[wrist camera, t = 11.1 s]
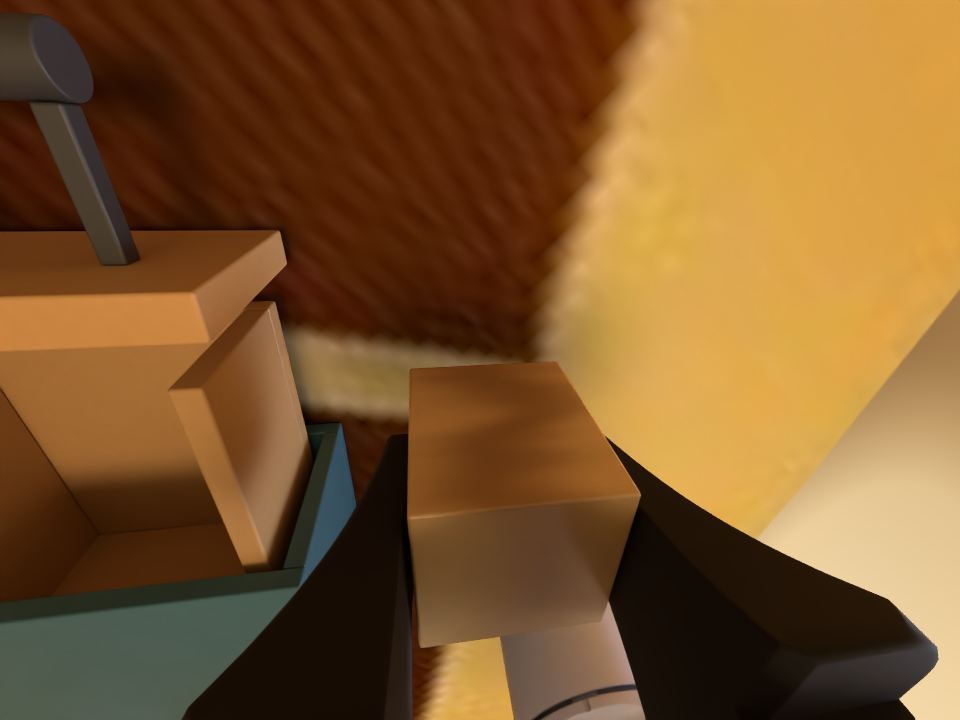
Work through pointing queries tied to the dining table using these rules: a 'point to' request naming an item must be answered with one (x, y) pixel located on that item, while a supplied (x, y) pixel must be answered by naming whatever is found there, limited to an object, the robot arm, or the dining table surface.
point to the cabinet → (161, 622)
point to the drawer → (134, 376)
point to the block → (510, 503)
